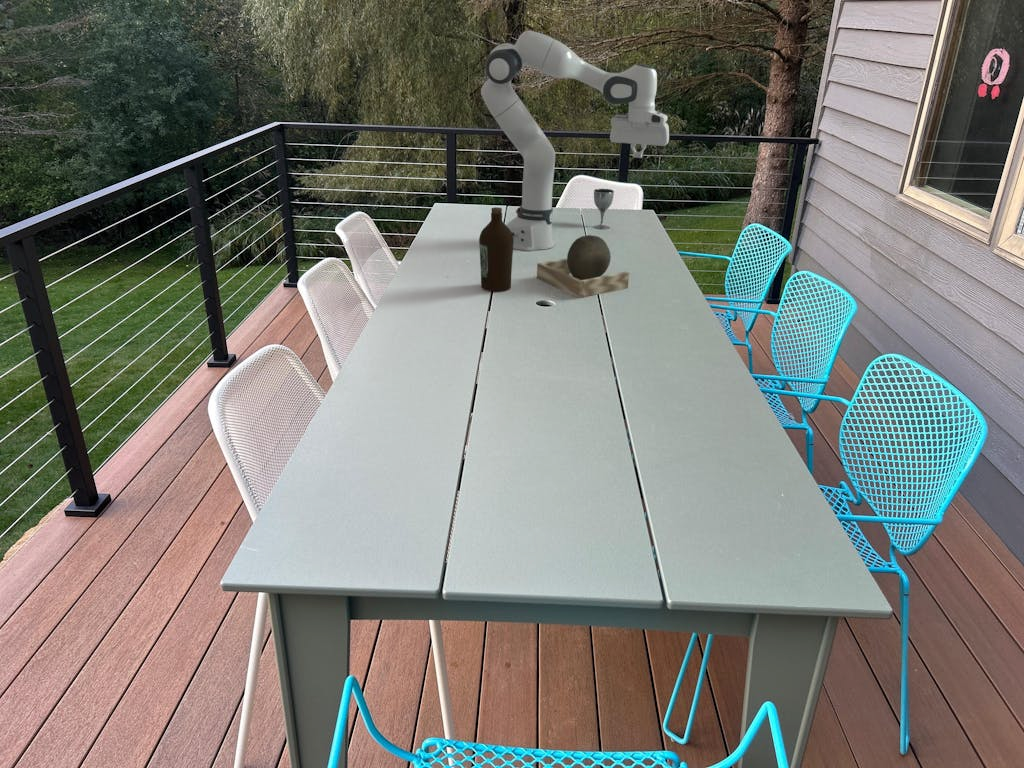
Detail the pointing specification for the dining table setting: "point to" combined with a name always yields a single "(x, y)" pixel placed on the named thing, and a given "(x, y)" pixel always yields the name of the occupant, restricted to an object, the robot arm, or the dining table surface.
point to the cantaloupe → (588, 257)
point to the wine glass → (603, 203)
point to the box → (559, 278)
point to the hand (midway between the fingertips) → (637, 157)
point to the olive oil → (496, 254)
